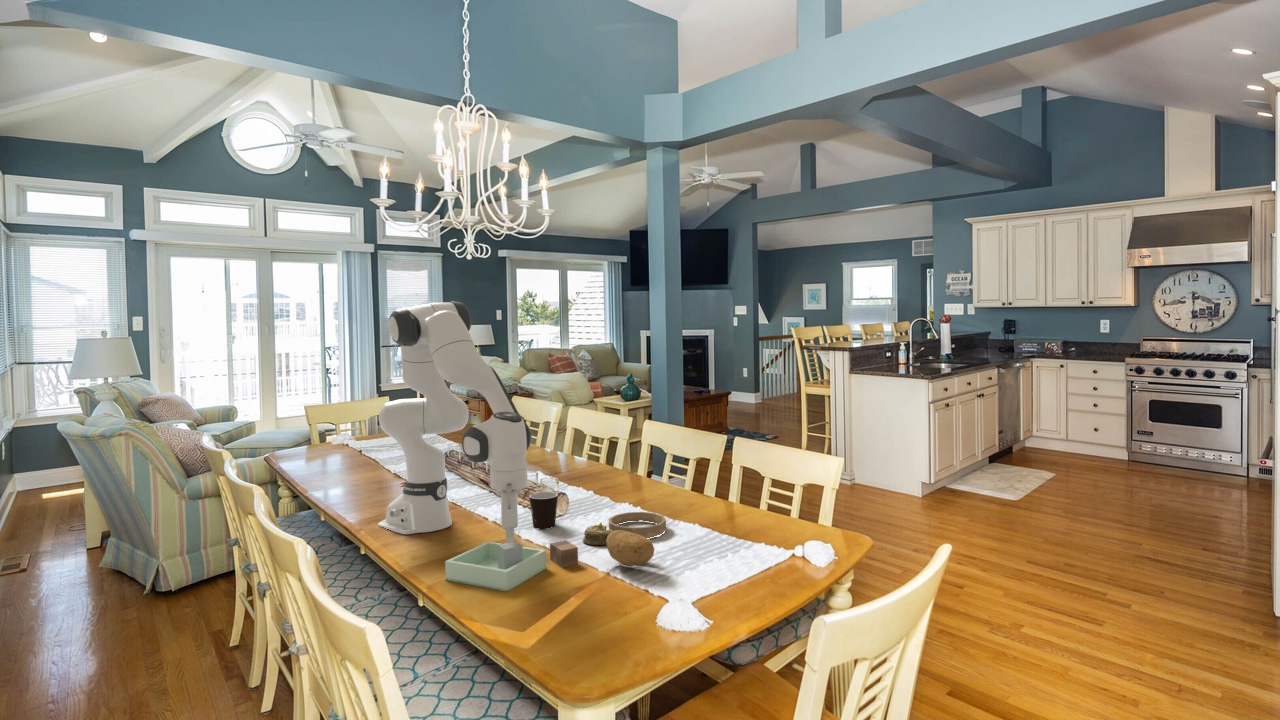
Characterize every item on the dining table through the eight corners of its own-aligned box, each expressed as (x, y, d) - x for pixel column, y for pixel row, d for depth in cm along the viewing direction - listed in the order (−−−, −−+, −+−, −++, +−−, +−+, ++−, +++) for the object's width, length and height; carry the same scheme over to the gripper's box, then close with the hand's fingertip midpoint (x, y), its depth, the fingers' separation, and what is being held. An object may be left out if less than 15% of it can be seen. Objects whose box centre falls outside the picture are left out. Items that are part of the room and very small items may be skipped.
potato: (637, 577, 153) (637, 543, 153) (597, 563, 162) (597, 532, 162) (664, 565, 160) (664, 534, 160) (624, 553, 170) (624, 523, 169)
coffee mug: (553, 533, 189) (552, 499, 188) (525, 531, 190) (524, 498, 190) (565, 521, 200) (564, 490, 200) (539, 520, 202) (538, 489, 201)
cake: (593, 550, 174) (593, 530, 173) (576, 540, 182) (575, 521, 182) (624, 542, 179) (624, 523, 179) (606, 534, 188) (605, 515, 187)
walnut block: (549, 543, 166) (561, 550, 160) (565, 540, 168) (577, 547, 162) (550, 560, 166) (561, 568, 160) (566, 557, 168) (578, 564, 162)
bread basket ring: (599, 536, 185) (598, 524, 185) (624, 520, 200) (624, 509, 200) (651, 543, 178) (651, 530, 178) (673, 526, 193) (673, 515, 193)
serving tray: (445, 580, 153) (445, 561, 153) (488, 558, 167) (488, 541, 167) (507, 591, 145) (506, 571, 145) (546, 568, 160) (546, 550, 159)
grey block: (498, 573, 155) (497, 544, 155) (516, 569, 158) (515, 541, 157) (505, 578, 151) (504, 549, 151) (523, 574, 154) (522, 545, 154)
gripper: (523, 489, 146) (524, 548, 147) (521, 469, 166) (522, 521, 167) (494, 491, 145) (496, 551, 146) (496, 470, 165) (497, 523, 166)
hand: (510, 535), depth 156 cm, fingers open, 8 cm apart
